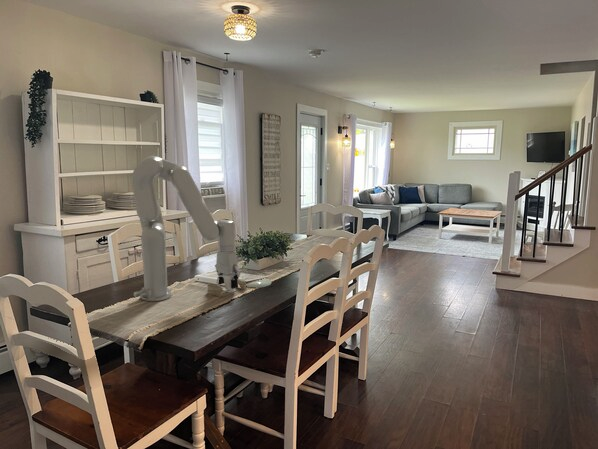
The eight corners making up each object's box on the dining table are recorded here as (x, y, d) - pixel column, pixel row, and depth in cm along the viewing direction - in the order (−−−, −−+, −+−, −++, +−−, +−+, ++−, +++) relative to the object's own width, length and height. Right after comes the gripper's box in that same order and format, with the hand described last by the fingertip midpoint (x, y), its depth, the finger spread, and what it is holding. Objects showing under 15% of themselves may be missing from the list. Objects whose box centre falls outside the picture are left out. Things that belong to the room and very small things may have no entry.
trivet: (255, 289, 207) (255, 288, 206) (235, 283, 216) (235, 282, 216) (277, 283, 217) (277, 281, 217) (257, 277, 226) (257, 275, 226)
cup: (235, 293, 200) (235, 276, 199) (214, 292, 202) (213, 274, 201) (240, 289, 207) (240, 272, 206) (219, 287, 209) (219, 270, 208)
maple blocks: (220, 297, 196) (220, 288, 195) (207, 292, 202) (207, 283, 201) (246, 289, 207) (246, 281, 206) (233, 285, 213) (233, 276, 212)
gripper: (208, 246, 204) (209, 283, 207) (233, 252, 193) (234, 292, 196) (221, 243, 210) (222, 280, 213) (246, 249, 198) (247, 288, 201)
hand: (228, 285), depth 204 cm, fingers closed on cup, 8 cm apart
